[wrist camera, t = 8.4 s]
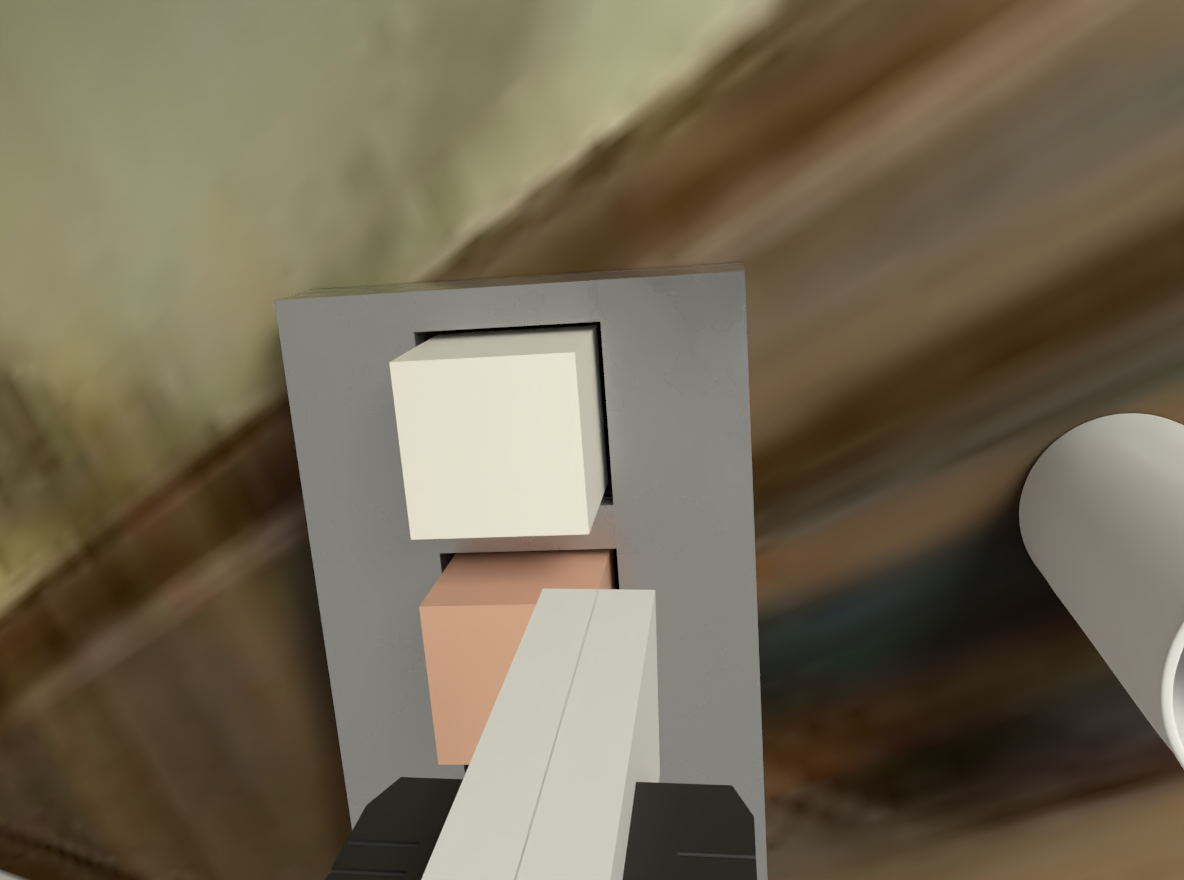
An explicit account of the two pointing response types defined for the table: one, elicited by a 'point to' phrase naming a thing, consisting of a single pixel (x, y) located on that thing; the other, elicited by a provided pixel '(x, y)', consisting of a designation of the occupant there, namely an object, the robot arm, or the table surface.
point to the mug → (1118, 551)
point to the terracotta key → (489, 630)
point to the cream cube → (501, 433)
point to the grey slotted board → (624, 521)
